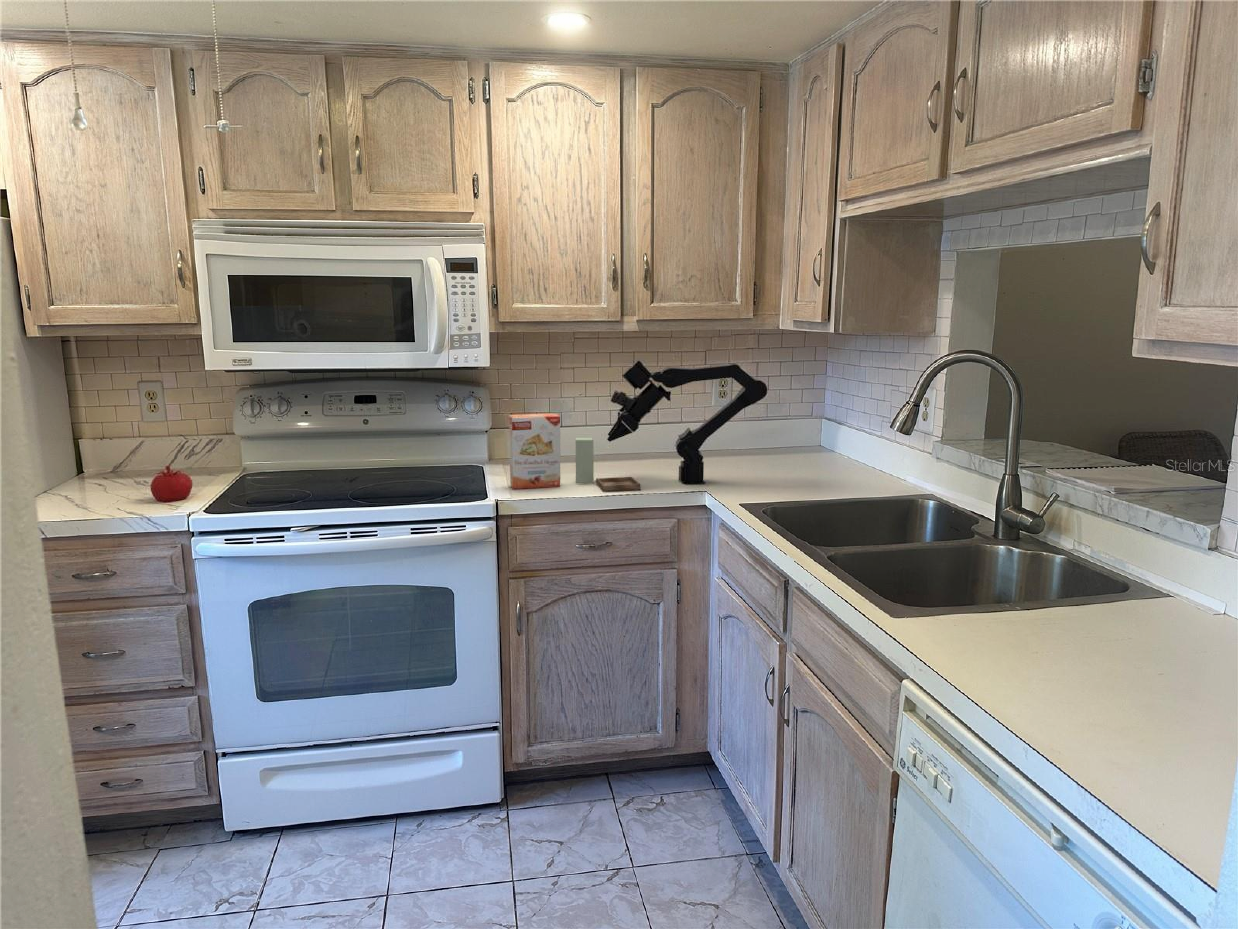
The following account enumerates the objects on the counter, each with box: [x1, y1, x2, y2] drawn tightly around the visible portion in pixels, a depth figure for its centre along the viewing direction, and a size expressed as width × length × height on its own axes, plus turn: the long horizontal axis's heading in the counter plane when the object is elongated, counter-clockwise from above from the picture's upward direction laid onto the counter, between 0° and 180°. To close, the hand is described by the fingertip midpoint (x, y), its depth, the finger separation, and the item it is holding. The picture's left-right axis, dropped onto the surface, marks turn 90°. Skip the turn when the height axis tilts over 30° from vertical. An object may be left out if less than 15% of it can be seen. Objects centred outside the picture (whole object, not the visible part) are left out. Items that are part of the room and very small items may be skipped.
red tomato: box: [150, 465, 194, 503], centre depth 222 cm, size 10×10×9 cm
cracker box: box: [508, 413, 561, 490], centre depth 237 cm, size 14×6×21 cm, turn 105°
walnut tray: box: [595, 476, 641, 493], centre depth 237 cm, size 11×11×2 cm
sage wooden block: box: [575, 437, 595, 484], centre depth 243 cm, size 5×5×13 cm
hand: (608, 438), depth 242 cm, fingers open, 9 cm apart
